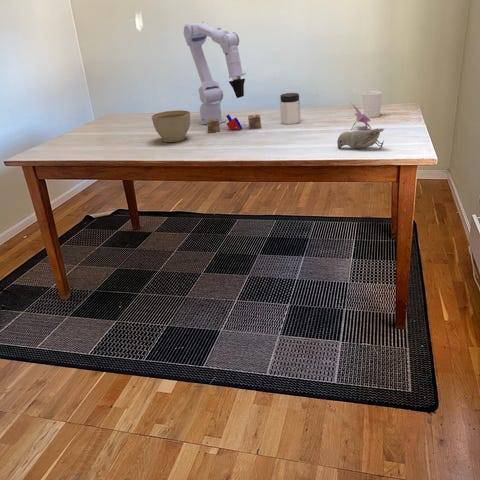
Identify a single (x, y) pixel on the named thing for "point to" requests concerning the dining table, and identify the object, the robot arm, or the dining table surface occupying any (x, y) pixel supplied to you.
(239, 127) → the toy building block
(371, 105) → the white cup
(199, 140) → the dining table surface
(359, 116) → the lily
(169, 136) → the planter bowl
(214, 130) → the walnut cube seven
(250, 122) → the walnut cube one
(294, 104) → the jar
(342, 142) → the decorative bird
